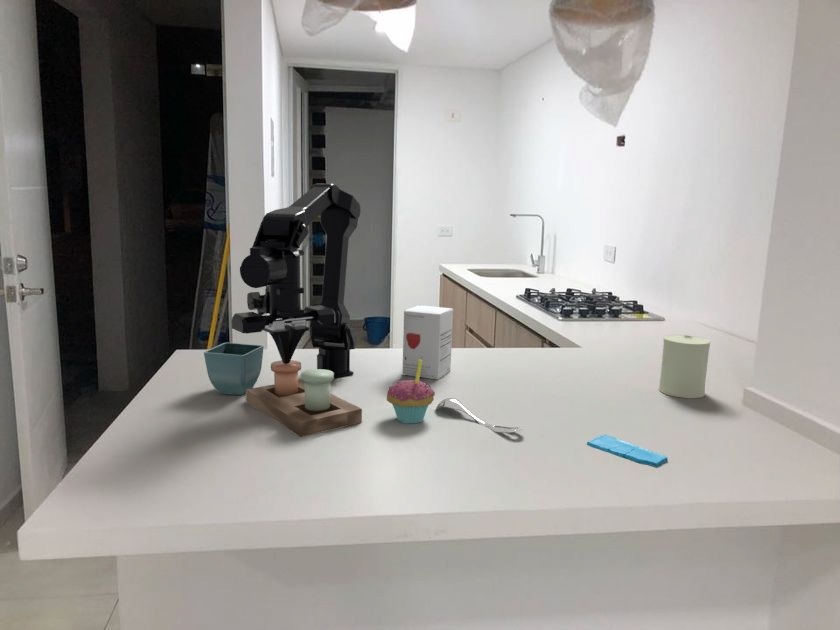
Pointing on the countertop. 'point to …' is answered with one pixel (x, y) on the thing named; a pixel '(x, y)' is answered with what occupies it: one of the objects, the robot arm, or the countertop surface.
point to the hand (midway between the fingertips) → (286, 363)
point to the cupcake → (410, 398)
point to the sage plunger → (317, 388)
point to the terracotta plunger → (286, 377)
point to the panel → (303, 410)
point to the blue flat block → (627, 450)
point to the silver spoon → (460, 406)
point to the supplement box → (427, 341)
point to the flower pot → (234, 367)
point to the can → (684, 366)
